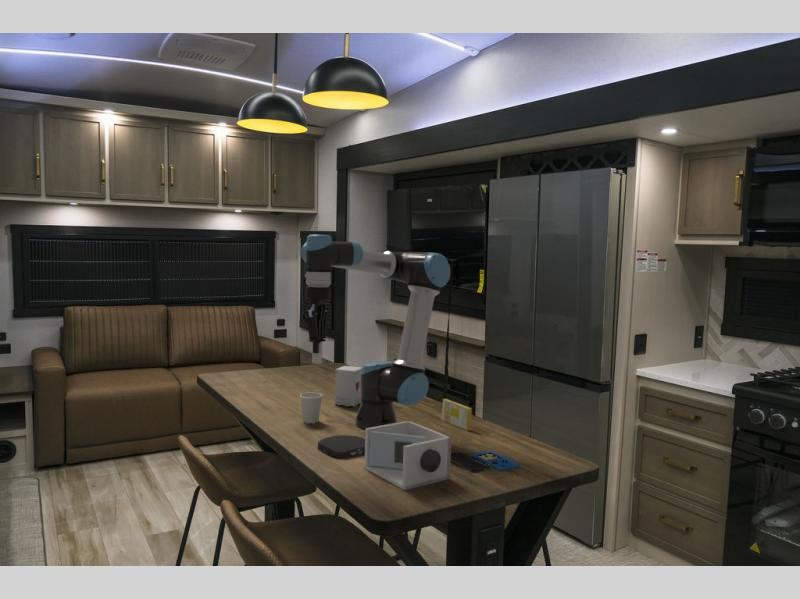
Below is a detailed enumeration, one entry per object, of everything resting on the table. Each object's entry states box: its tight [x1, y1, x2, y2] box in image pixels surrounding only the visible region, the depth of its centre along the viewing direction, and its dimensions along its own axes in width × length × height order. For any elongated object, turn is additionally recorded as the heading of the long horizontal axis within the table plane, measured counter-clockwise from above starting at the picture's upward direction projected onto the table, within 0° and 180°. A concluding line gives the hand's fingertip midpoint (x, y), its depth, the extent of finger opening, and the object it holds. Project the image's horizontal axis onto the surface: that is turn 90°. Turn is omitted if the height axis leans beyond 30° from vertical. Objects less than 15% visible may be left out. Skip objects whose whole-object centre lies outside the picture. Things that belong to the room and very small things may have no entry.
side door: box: [369, 431, 426, 469], centre depth 183 cm, size 2×16×10 cm, turn 75°
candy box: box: [441, 398, 473, 432], centre depth 234 cm, size 16×2×8 cm, turn 31°
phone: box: [450, 452, 491, 474], centre depth 193 cm, size 8×1×15 cm
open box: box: [364, 420, 452, 491], centre depth 182 cm, size 16×22×12 cm
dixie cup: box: [299, 391, 323, 424], centre depth 234 cm, size 8×8×10 cm
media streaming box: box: [317, 434, 365, 459], centre depth 204 cm, size 15×15×3 cm
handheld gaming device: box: [471, 450, 520, 472], centre depth 196 cm, size 8×1×15 cm
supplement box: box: [334, 365, 362, 407], centre depth 260 cm, size 9×9×15 cm
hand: (317, 363), depth 193 cm, fingers closed
